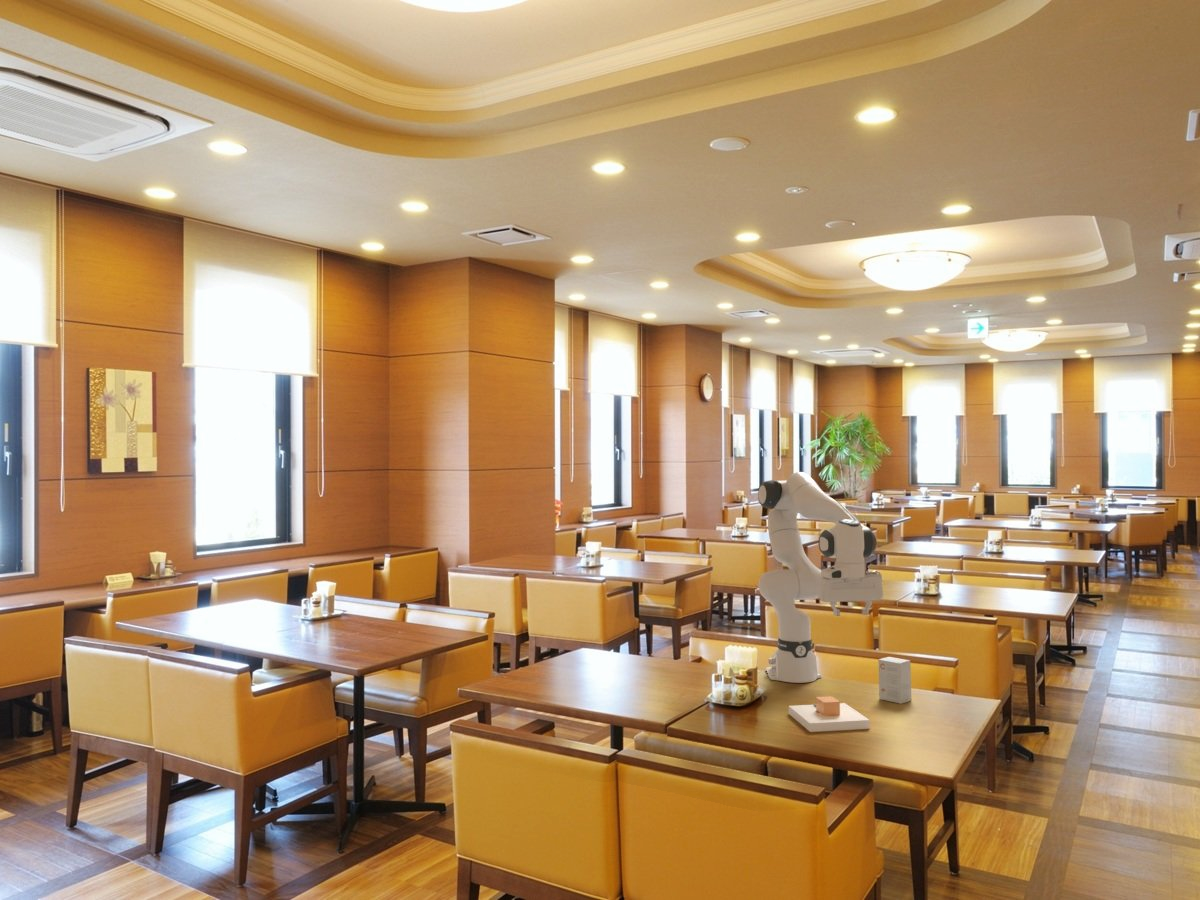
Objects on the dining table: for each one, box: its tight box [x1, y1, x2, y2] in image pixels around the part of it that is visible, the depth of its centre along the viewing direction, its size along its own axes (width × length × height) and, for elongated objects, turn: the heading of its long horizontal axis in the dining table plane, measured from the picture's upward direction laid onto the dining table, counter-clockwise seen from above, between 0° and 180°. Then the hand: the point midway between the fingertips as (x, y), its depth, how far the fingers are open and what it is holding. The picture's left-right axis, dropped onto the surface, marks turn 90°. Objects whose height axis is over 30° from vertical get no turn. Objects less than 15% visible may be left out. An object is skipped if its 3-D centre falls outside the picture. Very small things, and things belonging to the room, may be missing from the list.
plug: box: [815, 695, 841, 716], centre depth 259 cm, size 6×5×6 cm
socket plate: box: [788, 702, 871, 733], centre depth 259 cm, size 18×18×3 cm
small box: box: [878, 656, 912, 705], centre depth 280 cm, size 8×6×13 cm
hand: (851, 615), depth 272 cm, fingers open, 8 cm apart
